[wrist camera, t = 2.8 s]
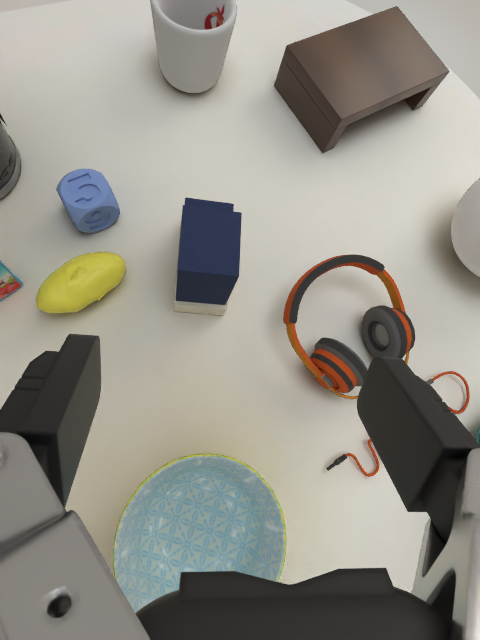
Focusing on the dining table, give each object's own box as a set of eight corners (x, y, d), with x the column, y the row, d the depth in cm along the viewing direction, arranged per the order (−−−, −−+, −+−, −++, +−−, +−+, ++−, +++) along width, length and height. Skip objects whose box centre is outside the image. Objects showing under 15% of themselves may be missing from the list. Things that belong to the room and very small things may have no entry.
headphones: (456, 403, 41) (373, 232, 39) (503, 411, 36) (410, 215, 34) (332, 497, 36) (233, 308, 35) (366, 522, 31) (251, 302, 30)
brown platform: (322, 153, 44) (341, 119, 39) (273, 85, 45) (286, 45, 40) (422, 106, 48) (450, 71, 43) (375, 46, 49) (397, 5, 45)
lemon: (138, 288, 36) (134, 272, 32) (53, 330, 34) (39, 318, 30) (115, 251, 36) (110, 231, 33) (31, 290, 34) (15, 273, 30)
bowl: (279, 579, 32) (304, 614, 26) (133, 624, 29) (124, 674, 23) (250, 436, 34) (268, 438, 28) (114, 466, 32) (102, 474, 26)
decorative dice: (103, 188, 38) (96, 161, 34) (122, 222, 37) (117, 198, 33) (63, 204, 37) (51, 178, 33) (82, 239, 36) (72, 216, 32)
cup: (133, 32, 43) (125, -52, 36) (199, 21, 45) (205, -60, 38) (169, 110, 41) (169, 39, 34) (236, 95, 44) (251, 25, 36)
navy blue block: (223, 315, 37) (240, 281, 28) (173, 311, 36) (175, 275, 27) (227, 229, 39) (244, 173, 30) (181, 223, 38) (185, 165, 30)
